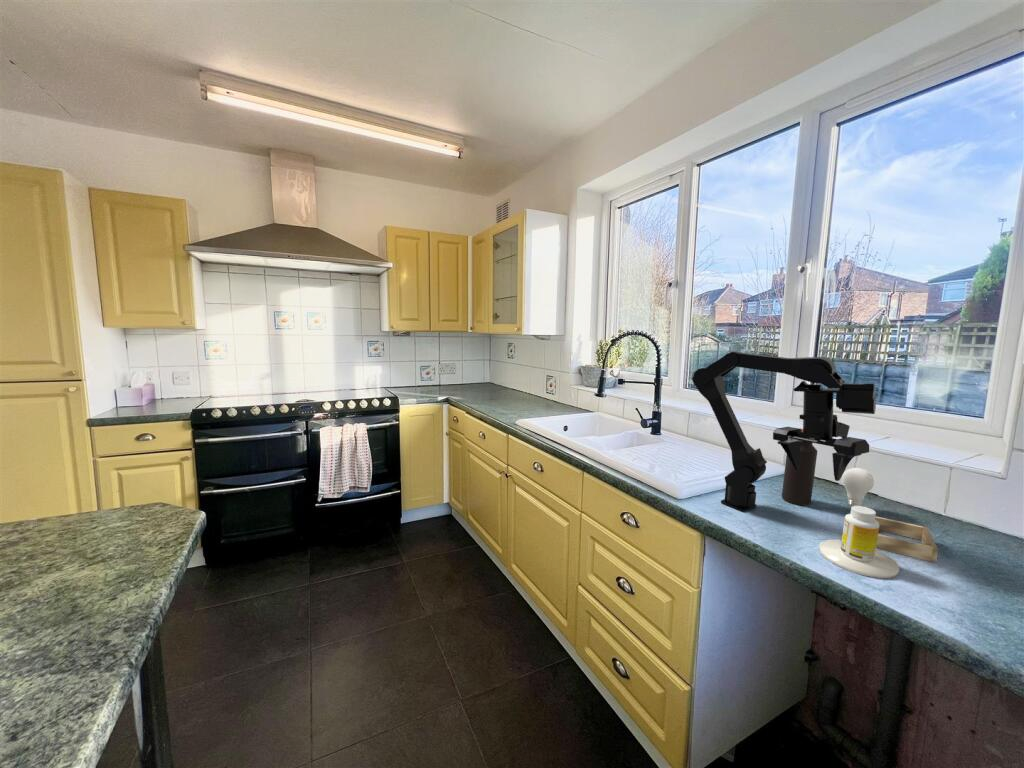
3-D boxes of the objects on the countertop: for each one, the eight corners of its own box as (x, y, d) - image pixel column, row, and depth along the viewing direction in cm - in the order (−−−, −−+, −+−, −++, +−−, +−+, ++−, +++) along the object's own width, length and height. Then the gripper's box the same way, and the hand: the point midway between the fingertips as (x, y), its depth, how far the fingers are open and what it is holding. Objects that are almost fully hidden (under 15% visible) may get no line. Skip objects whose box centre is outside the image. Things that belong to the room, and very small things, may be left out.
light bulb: (872, 515, 109) (878, 474, 107) (839, 509, 113) (845, 469, 111) (867, 506, 115) (873, 467, 113) (836, 500, 118) (842, 462, 116)
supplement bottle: (881, 561, 87) (888, 515, 85) (857, 564, 86) (865, 516, 84) (855, 547, 92) (862, 503, 91) (833, 549, 91) (839, 504, 90)
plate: (807, 552, 91) (807, 549, 91) (836, 537, 98) (836, 534, 98) (882, 585, 80) (882, 581, 80) (909, 566, 87) (910, 562, 87)
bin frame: (864, 544, 95) (865, 532, 94) (860, 524, 104) (862, 513, 104) (935, 562, 88) (938, 549, 88) (925, 539, 97) (927, 527, 97)
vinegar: (810, 499, 119) (818, 429, 116) (811, 508, 113) (820, 435, 110) (781, 493, 122) (789, 426, 119) (781, 501, 117) (789, 431, 114)
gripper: (885, 412, 94) (883, 480, 96) (801, 402, 111) (800, 460, 113) (854, 417, 90) (852, 489, 92) (771, 407, 107) (771, 467, 109)
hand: (816, 475), depth 101 cm, fingers open, 9 cm apart
